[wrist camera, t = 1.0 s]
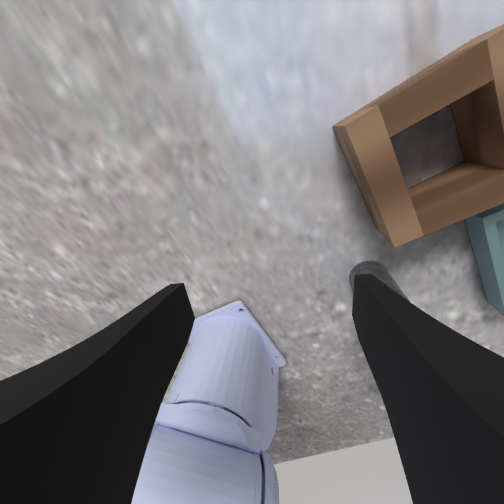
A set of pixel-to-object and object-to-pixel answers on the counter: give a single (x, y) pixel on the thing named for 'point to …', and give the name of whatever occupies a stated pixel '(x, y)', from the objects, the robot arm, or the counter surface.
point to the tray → (489, 252)
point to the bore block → (469, 133)
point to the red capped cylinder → (376, 275)
